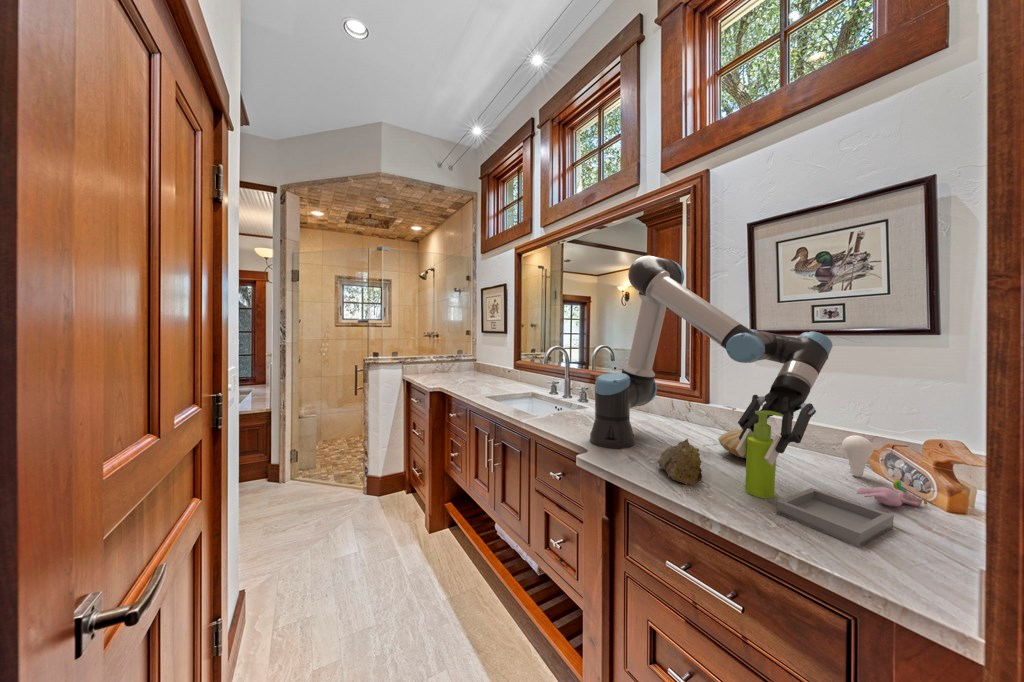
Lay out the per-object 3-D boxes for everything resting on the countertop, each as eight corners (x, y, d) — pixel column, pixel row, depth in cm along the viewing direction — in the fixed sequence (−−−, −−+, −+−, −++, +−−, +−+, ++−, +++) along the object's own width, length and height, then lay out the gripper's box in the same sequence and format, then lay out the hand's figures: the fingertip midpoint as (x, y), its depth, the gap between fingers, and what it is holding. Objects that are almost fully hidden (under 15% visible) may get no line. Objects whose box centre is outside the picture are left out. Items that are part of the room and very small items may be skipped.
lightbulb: (879, 481, 95) (881, 439, 94) (855, 481, 95) (857, 439, 94) (857, 471, 101) (858, 432, 101) (835, 472, 101) (836, 432, 101)
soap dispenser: (784, 499, 86) (788, 415, 84) (751, 497, 87) (755, 413, 86) (771, 488, 91) (775, 409, 90) (741, 485, 93) (744, 407, 91)
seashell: (682, 468, 108) (680, 433, 109) (716, 484, 94) (713, 444, 94) (647, 471, 107) (645, 436, 107) (676, 488, 92) (673, 447, 93)
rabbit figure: (902, 502, 87) (845, 495, 85) (906, 477, 86) (849, 470, 85) (935, 516, 80) (874, 509, 79) (940, 489, 80) (879, 482, 79)
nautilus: (753, 445, 125) (800, 463, 111) (704, 449, 118) (747, 469, 104) (756, 423, 124) (803, 438, 110) (706, 425, 117) (750, 441, 103)
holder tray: (776, 512, 80) (776, 501, 80) (810, 498, 86) (811, 487, 86) (859, 547, 67) (860, 533, 67) (893, 528, 73) (893, 515, 73)
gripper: (844, 399, 86) (805, 481, 80) (760, 387, 103) (722, 454, 97) (834, 378, 84) (792, 461, 77) (749, 369, 101) (709, 437, 94)
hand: (753, 457), depth 87 cm, fingers closed on soap dispenser, 6 cm apart
